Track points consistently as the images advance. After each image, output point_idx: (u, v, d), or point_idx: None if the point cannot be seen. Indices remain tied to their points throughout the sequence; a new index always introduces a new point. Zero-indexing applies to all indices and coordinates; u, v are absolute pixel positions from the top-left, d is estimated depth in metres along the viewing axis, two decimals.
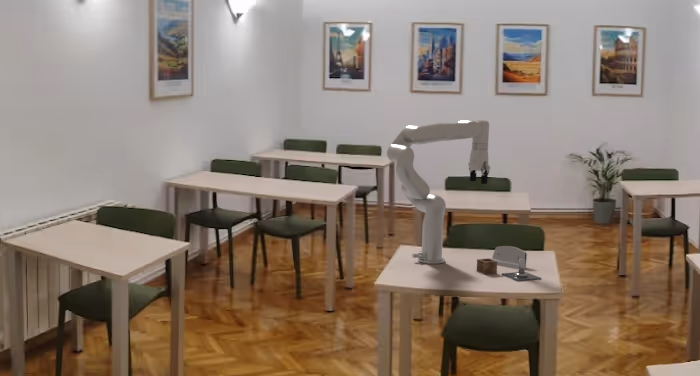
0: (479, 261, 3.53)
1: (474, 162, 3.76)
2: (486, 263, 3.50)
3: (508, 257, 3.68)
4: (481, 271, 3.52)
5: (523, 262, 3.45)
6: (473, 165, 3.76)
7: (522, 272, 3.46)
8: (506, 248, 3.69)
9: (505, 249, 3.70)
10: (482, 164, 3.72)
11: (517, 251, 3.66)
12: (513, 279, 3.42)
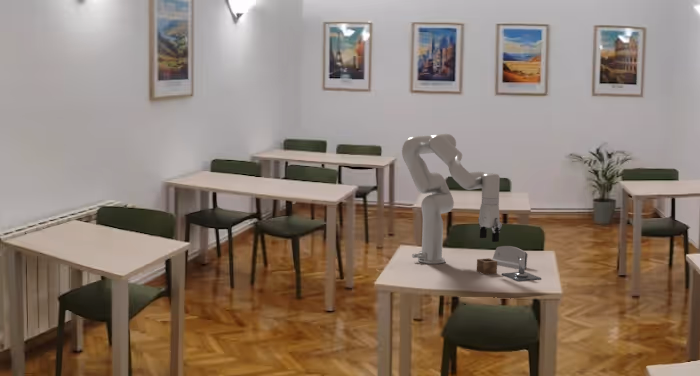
0: (479, 261, 3.53)
1: (484, 218, 3.50)
2: (486, 263, 3.50)
3: (509, 257, 3.68)
4: (481, 271, 3.52)
5: (523, 262, 3.45)
6: (483, 221, 3.50)
7: (522, 272, 3.46)
8: (507, 248, 3.69)
9: (506, 249, 3.70)
10: (493, 221, 3.46)
11: (518, 251, 3.66)
12: (513, 279, 3.42)
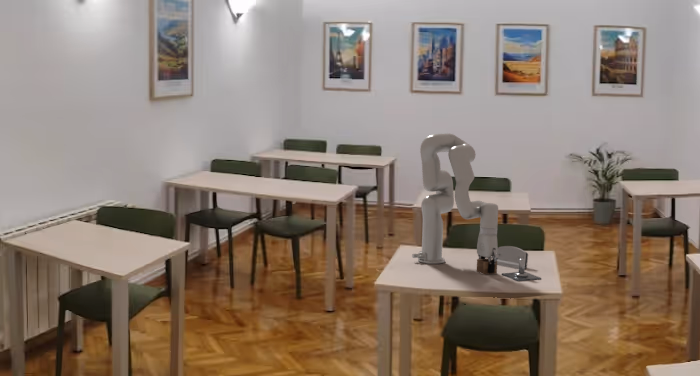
0: (479, 261, 3.53)
1: (482, 248, 3.52)
2: (486, 263, 3.50)
3: (509, 257, 3.68)
4: (481, 271, 3.52)
5: (523, 262, 3.45)
6: (481, 251, 3.52)
7: (522, 272, 3.46)
8: (508, 248, 3.69)
9: (506, 249, 3.70)
10: (491, 253, 3.48)
11: (518, 251, 3.65)
12: (513, 279, 3.42)
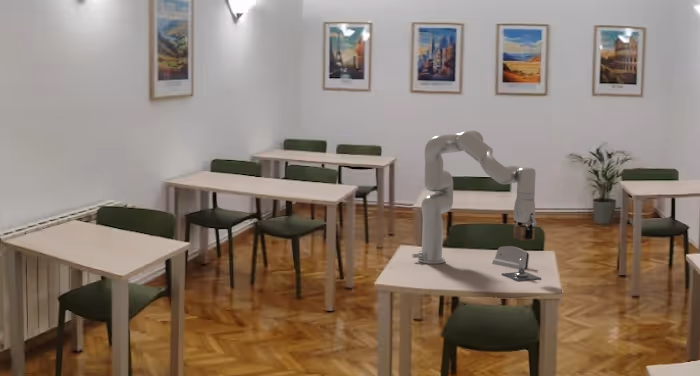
0: (516, 227, 3.44)
1: (519, 213, 3.42)
2: (524, 229, 3.40)
3: (510, 257, 3.67)
4: (518, 237, 3.43)
5: (523, 262, 3.45)
6: (518, 217, 3.43)
7: (522, 272, 3.46)
8: (509, 248, 3.69)
9: (508, 249, 3.69)
10: (528, 218, 3.38)
11: (519, 251, 3.65)
12: (513, 279, 3.42)
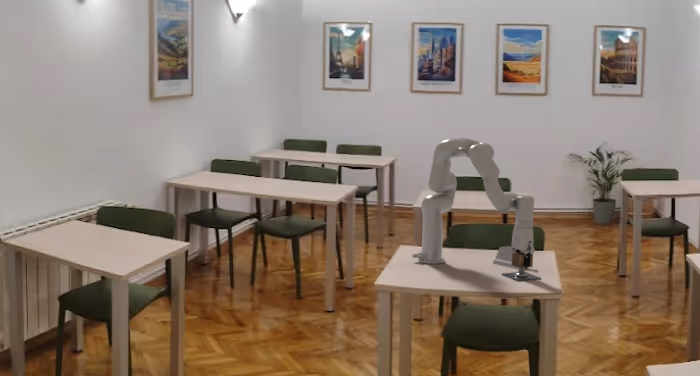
0: (514, 254, 3.46)
1: (518, 241, 3.44)
2: (522, 256, 3.42)
3: (511, 257, 3.67)
4: (517, 265, 3.44)
5: None
6: (516, 244, 3.45)
7: (522, 272, 3.46)
8: (509, 248, 3.69)
9: (508, 249, 3.69)
10: (527, 246, 3.40)
11: None
12: (513, 279, 3.42)
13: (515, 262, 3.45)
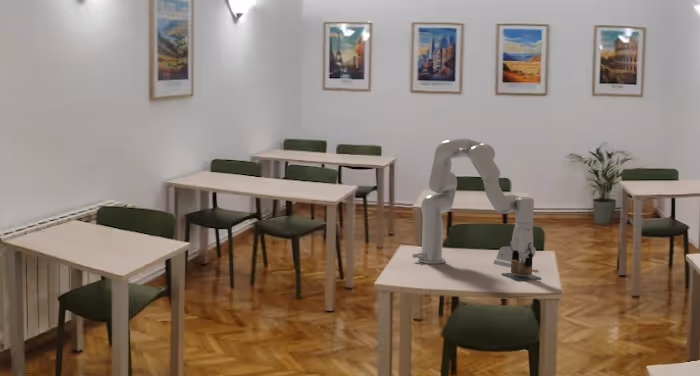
0: (514, 262, 3.46)
1: (517, 243, 3.44)
2: (521, 264, 3.43)
3: (511, 257, 3.67)
4: (516, 272, 3.45)
5: None
6: (516, 246, 3.45)
7: None
8: (510, 248, 3.69)
9: (509, 249, 3.69)
10: (527, 246, 3.40)
11: (520, 252, 3.65)
12: (513, 279, 3.42)
13: (514, 269, 3.46)
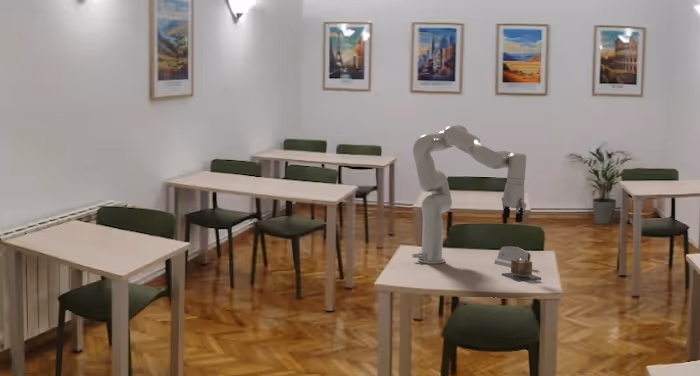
0: (514, 262, 3.46)
1: (509, 198, 3.47)
2: (521, 264, 3.43)
3: (512, 258, 3.67)
4: (516, 272, 3.45)
5: None
6: (507, 201, 3.48)
7: None
8: (511, 249, 3.69)
9: (509, 249, 3.69)
10: (517, 201, 3.43)
11: (520, 252, 3.64)
12: (513, 279, 3.42)
13: (514, 269, 3.46)
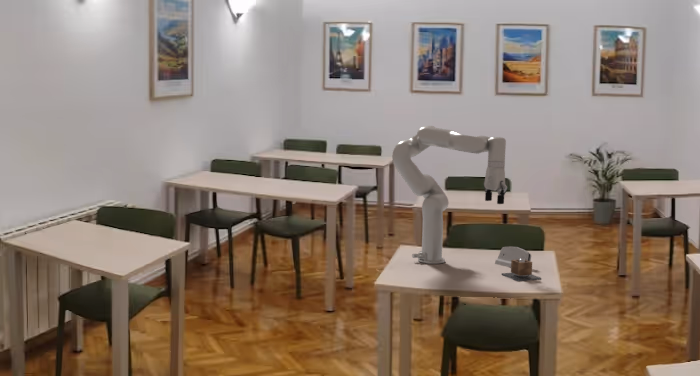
0: (514, 262, 3.46)
1: (490, 181, 3.57)
2: (521, 264, 3.43)
3: (512, 258, 3.67)
4: (516, 272, 3.45)
5: None
6: (489, 184, 3.58)
7: None
8: (511, 249, 3.68)
9: (510, 250, 3.69)
10: (498, 183, 3.53)
11: (521, 252, 3.64)
12: (513, 279, 3.42)
13: (514, 269, 3.46)
